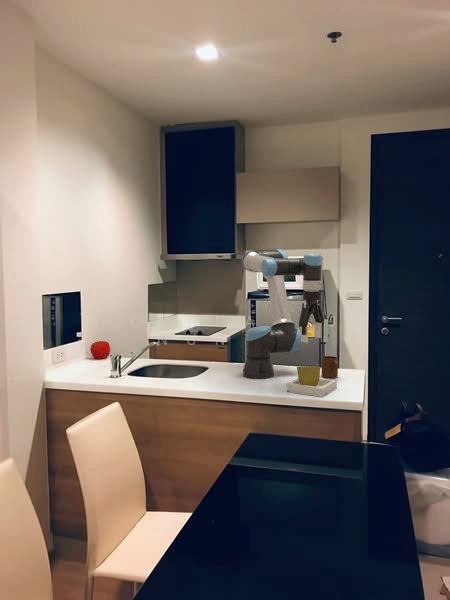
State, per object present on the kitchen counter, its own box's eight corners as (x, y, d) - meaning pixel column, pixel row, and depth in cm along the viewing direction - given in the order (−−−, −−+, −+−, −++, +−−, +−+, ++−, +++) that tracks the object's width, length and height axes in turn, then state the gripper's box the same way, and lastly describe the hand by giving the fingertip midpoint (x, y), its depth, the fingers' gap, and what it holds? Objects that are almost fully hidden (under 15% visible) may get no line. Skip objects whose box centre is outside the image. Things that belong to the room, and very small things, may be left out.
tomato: (114, 356, 294) (113, 338, 294) (105, 360, 282) (104, 342, 281) (96, 355, 297) (95, 338, 296) (86, 360, 284) (85, 342, 283)
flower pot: (299, 388, 210) (299, 366, 211) (296, 387, 218) (296, 366, 219) (321, 388, 210) (320, 366, 211) (317, 387, 218) (316, 366, 219)
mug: (344, 380, 232) (345, 360, 232) (329, 381, 231) (329, 361, 230) (333, 374, 244) (333, 355, 243) (318, 375, 242) (318, 356, 241)
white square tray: (286, 391, 214) (286, 383, 213) (302, 383, 227) (302, 376, 227) (322, 397, 205) (322, 388, 205) (336, 388, 218) (336, 380, 218)
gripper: (307, 293, 202) (307, 345, 204) (331, 288, 222) (330, 336, 224) (290, 292, 206) (290, 343, 208) (315, 288, 226) (314, 334, 229)
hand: (311, 340), depth 216 cm, fingers open, 13 cm apart
